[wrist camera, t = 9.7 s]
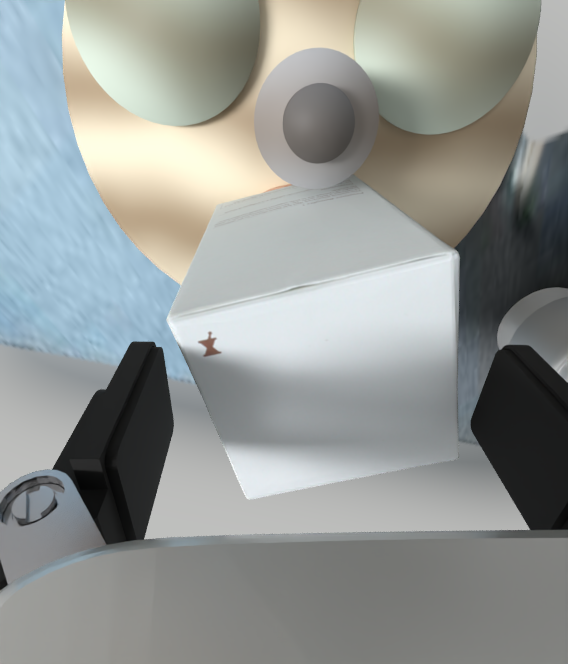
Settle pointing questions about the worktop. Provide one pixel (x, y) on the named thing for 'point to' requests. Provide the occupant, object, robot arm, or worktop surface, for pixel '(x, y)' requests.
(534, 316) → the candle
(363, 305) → the supplement box
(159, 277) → the worktop surface
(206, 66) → the carrier
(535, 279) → the worktop surface
